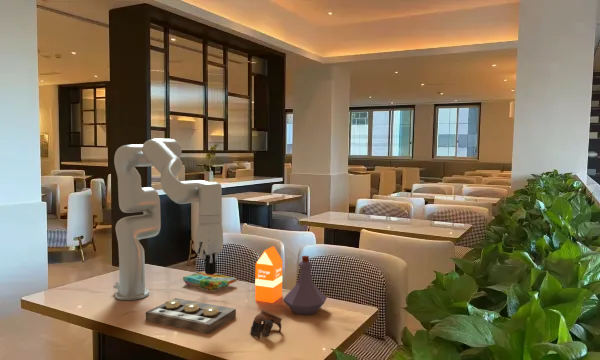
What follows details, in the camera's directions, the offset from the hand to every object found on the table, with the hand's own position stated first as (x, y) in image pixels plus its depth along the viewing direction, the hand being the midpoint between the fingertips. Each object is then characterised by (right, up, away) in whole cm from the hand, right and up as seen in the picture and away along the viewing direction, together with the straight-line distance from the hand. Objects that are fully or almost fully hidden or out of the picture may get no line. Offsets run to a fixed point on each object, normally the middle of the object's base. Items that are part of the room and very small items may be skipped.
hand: (210, 273), depth 158 cm
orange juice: (+18, -15, +27) cm, 36 cm away
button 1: (-15, -14, +8) cm, 22 cm away
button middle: (-8, -14, +4) cm, 17 cm away
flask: (+32, -17, +14) cm, 39 cm away
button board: (-8, -17, +5) cm, 19 cm away
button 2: (0, -15, +1) cm, 15 cm away
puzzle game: (-8, -14, +42) cm, 45 cm away
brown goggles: (+19, -18, -7) cm, 28 cm away
